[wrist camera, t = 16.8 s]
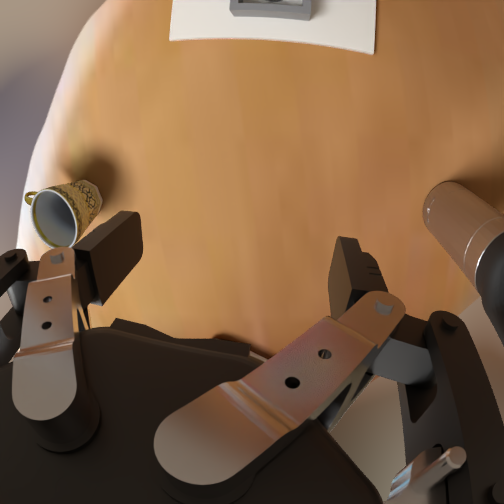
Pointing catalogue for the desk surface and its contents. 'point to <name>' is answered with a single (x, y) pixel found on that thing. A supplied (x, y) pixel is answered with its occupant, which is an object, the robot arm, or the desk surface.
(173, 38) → the shaft rig
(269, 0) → the gold lidded jar
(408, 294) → the desk surface
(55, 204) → the ceramic cup
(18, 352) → the robot arm
